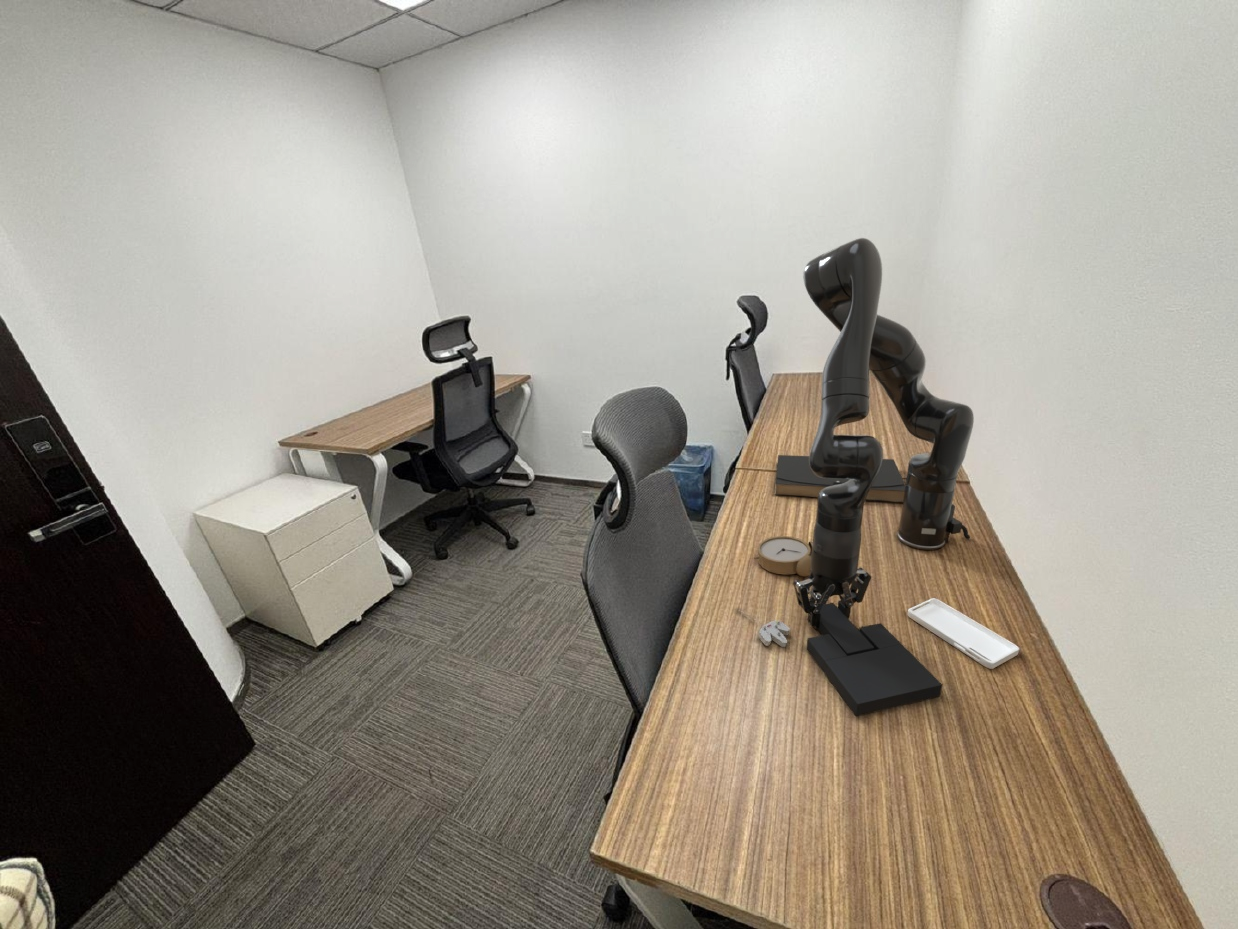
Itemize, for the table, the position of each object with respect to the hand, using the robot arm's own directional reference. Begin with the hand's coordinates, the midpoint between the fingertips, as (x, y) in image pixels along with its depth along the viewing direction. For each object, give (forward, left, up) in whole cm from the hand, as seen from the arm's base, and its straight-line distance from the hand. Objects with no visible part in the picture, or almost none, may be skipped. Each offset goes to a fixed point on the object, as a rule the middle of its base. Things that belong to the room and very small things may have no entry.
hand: (827, 622), depth 90 cm
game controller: (+12, -2, -1) cm, 12 cm away
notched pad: (0, +12, 0) cm, 12 cm away
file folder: (-35, -53, -1) cm, 64 cm away
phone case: (-20, +8, -1) cm, 22 cm away
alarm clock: (-3, -19, -1) cm, 20 cm away
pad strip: (0, +3, 0) cm, 3 cm away
